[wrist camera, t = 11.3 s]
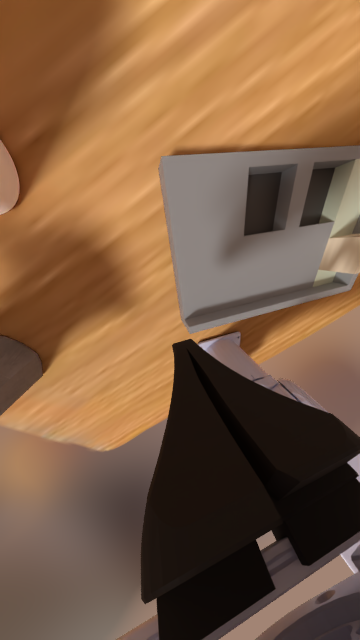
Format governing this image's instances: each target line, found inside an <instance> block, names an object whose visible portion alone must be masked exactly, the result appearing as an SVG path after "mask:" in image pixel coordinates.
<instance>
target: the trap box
mask: <svg viewBox="0 0 360 640" xmlns="http://www.w3.org/2000/svg"><path fill="white" fill-rule="evenodd" d="M158 169H159V176H160V182H161V189H162V195H163V202H164V209H165V215H166V222H167V228H168V235H169V242H170V248H171V255H172V261H173V268H174V275H175V281H176V288H177V294H178V301H179V308H180V314H181V320H182V321H183V323H184V325H185V327H186V328H187V330H188V332H189V333H190V334H191V333H195V332H199V331H202V330H206V329H210V328H214V327H217V326H221V325H225V324H228V323H232V322H236V321H239V320H243V319H247V318H250V317H254V316H258V315H261V314H265V313H269V312H272V311H276V310H280V309H283V308H287V307H291V306H294V305H298V304H302V303H305V302H309V301H313V300H316V299H320V298H324V297H327V296H331V295H335V294H338V293H342V292H346V291H349V290H351V288H352V286H353V284H354V282H355V280H356V278H357V276H358V274H359V273H357V274H349V273H341V272H333V271H325V270H318V269H319V266H320V263H321V260H322V257H323V254H324V252H325V249H326V246H327V243H328V240H329V238H334V237H339V236H344V235H349V234H360V145H358V146H340V147H321V148H303V149H285V150H266V151H248V152H230V153H211V154H193V155H175V156H161V160H160V164H159V168H158Z"/></svg>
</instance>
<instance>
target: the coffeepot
mask: <svg viewBox="0 0 360 640" xmlns="http://www.w3.org/2000/svg"><path fill="white" fill-rule="evenodd" d="M42 376H43V372H42V363H41V360H40V358H39V357H38V354H37V353H36V352H34V351H33V350H32V349H31V348H29V347H28V346H26V345H25V344H23V343H20V342H18V341H16V340H13V339H10V338H7V337H5V336H0V415H2V414H3V413H4V412H5V411H6V410H7V409H8V408H9V407H10V406H11V405H12V404H13V403H14V402H15V401H16V400H17V399H18V398H20V397H21V396H22V395H23V394H24V393H25V392H26V391H27V390H28V389H29V388H30V387H31V386H32V385H33V384H34V383H35V382H36V381H38V380H39V379H40V378H41V377H42Z"/></svg>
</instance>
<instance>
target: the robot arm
mask: <svg viewBox="0 0 360 640" xmlns="http://www.w3.org/2000/svg"><path fill="white" fill-rule="evenodd" d="M240 336H241V333H240V332H234V333H231V334H227V335H224V336H221V337H217V338H214V339H210V340H207V341H203V342H200V343H198V344H196V343H195V342H194V341H193V340H192V339H188V340H185V341H181V342H178V343H174V344H173V345H172V347H173V352H174V383H173V391H172V398H171V404H170V410H169V415H168V420H167V425H166V429H165V433H164V437H163V441H162V445H161V449H160V454H159V457H158V461H157V464H156V468H155V471H154V474H153V478H152V482H151V485H150V488H149V492H148V496H147V503H146V509H145V516H144V524H143V533H142V543H141V599H142V601H143V602H144V603H145V604H146V603H148V602H150V601H152V600H154V599H156V598H157V613H158V614H157V615H155V616H153V617H152V618H150V619H149V620H147V621H145V622H144V623H142V624H140V625H139V626H137V627H136V628H134V629H132V630H131V631H129V632H127V633H126V634H124V635H123V636H121V637H119V638H118V639H116V640H218V639H220V638H221V637H223V636H224V635H226V634H227V633H228V632H230V631H231V630H233V629H234V628H236V627H237V626H238V625H240V624H241V623H243V622H244V621H246V620H247V619H248V618H250V617H251V616H253V615H254V614H256V613H257V612H258V611H260V610H261V609H263V608H264V607H266V606H267V605H268V604H270V603H271V602H273V601H274V600H276V599H277V598H278V597H280V596H281V595H283V594H284V593H286V592H287V591H288V590H290V589H291V588H293V587H294V586H296V585H297V584H299V583H300V582H301V581H303V580H304V579H306V578H307V577H309V576H310V575H311V574H313V573H314V572H316V571H317V570H319V569H320V568H321V567H323V566H324V565H326V564H327V563H329V562H330V561H331V560H332V559H334V558H336V557H337V556H339V555H341V556H342V558H343V559H344V561H345V562H346V563H347V564H348V566H349V567H350V568H351V570H352V571H353V573H354V575H352V576H350V577H348V578H347V579H345V580H343V581H341V582H340V583H338V584H336V585H334V586H333V587H331V588H329V589H328V590H326V591H324V592H322V593H321V594H319V595H317V596H315V597H313V598H312V599H310V600H308V601H307V602H305V603H303V604H302V605H300V606H298V607H297V608H296V609H294V610H292V611H291V612H289V613H288V614H286V615H285V616H284V617H282V618H281V619H280V620H278V621H277V622H276V623H275V624H273V625H272V626H271V627H269V628H268V629H267V630H266V631H264V632H263V633H262V634H261V635H260V636H259V637H258V638H256V639H255V640H360V437H359V436H358V435H357V434H355V433H354V432H353V431H352V430H351V429H350V428H348V427H347V426H346V425H345V424H344V423H343V422H341V421H340V420H339V419H338V418H336V417H335V416H334V415H333V414H331V413H328V412H327V411H326V410H325V409H324V408H323V407H322V406H321V405H320V404H319V403H318V402H317V401H315V400H314V399H313V398H312V397H311V396H310V395H309V394H307V393H306V392H305V391H304V390H303V389H302V388H300V387H299V386H298V385H297V384H295V383H294V382H292V381H291V380H288V379H283V378H280V379H279V380H278V382H279V383H280V384H279V383H278V382H277V381H276V380H275V379H274V378H273V377H272V376H271V375H268V374H267V373H266V372H265V371H264V370H263V369H262V368H261V367H260V366H259V365H258V364H257V363H256V362H255V361H253V360H252V359H251V358H250V357H249V356H248V355H247V354H246V353H245V352H244V351H243V350H242V349H241V348H240ZM270 530H272V532H273V534H274V536H275V538H276V541H275V542H274V543H272V544H271V545H269V546H267V547H266V548H264V549H262V550H261V551H260V549H259V546H258V544H257V542H256V539H257V538H259V537H260V536H262V535H264V534H266V533H267V532H269V531H270Z"/></svg>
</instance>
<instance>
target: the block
mask: <svg viewBox="0 0 360 640" xmlns="http://www.w3.org/2000/svg"><path fill="white" fill-rule="evenodd" d="M318 270H325V271H333V272H341V273H349V274H357V273H360V234H349V235H344V236H339V237H334V238H329V240H328V243H327V246H326V249H325V252H324V254H323V257H322V260H321V263H320V266H319V269H318Z"/></svg>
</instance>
